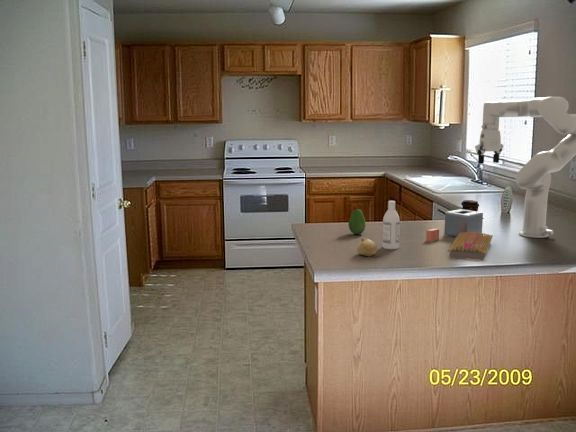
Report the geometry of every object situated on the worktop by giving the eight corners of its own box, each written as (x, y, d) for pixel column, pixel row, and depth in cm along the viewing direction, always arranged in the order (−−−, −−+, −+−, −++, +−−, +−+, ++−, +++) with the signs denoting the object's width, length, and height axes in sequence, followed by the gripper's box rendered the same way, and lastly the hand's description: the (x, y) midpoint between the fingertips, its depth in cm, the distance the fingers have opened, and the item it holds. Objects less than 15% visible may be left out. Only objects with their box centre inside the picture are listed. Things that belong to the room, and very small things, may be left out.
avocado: (366, 233, 286) (367, 208, 283) (364, 236, 278) (364, 210, 276) (349, 232, 288) (350, 207, 286) (346, 235, 280) (347, 210, 278)
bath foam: (396, 245, 260) (397, 199, 256) (400, 249, 253) (402, 202, 250) (380, 246, 259) (381, 199, 256) (384, 249, 252) (385, 202, 249)
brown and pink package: (485, 262, 234) (486, 246, 233) (447, 258, 240) (447, 243, 239) (492, 243, 266) (493, 229, 265) (458, 240, 272) (459, 227, 270)
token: (438, 240, 271) (439, 229, 270) (430, 242, 267) (431, 231, 266) (434, 239, 273) (434, 228, 272) (426, 241, 269) (426, 230, 268)
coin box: (481, 235, 279) (483, 212, 277) (466, 239, 271) (468, 215, 269) (459, 231, 288) (460, 209, 286) (444, 235, 280) (445, 211, 278)
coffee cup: (458, 227, 298) (459, 201, 296) (461, 224, 306) (463, 199, 303) (476, 229, 294) (477, 202, 292) (479, 226, 302) (480, 200, 299)
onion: (374, 252, 248) (375, 235, 247) (378, 257, 240) (378, 240, 239) (355, 253, 248) (355, 236, 246) (358, 257, 240) (358, 240, 239)
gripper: (482, 128, 285) (480, 164, 288) (509, 127, 293) (507, 162, 296) (471, 127, 292) (469, 163, 295) (498, 127, 299) (495, 161, 302)
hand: (488, 163), depth 295 cm, fingers open, 9 cm apart
